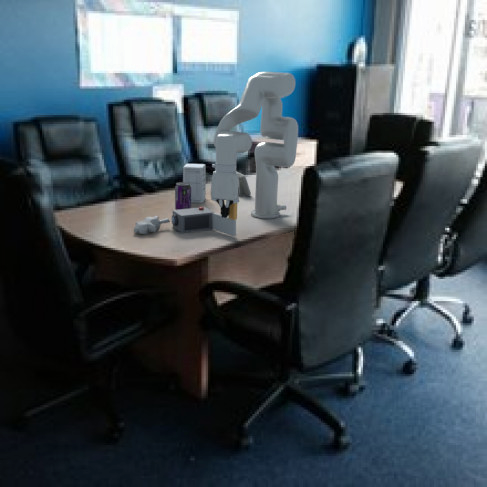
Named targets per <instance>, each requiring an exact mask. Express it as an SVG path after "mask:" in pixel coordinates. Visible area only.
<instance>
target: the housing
mask: <svg viewBox="0 0 487 487" xmlns="http://www.w3.org/2000/svg"><path fill="white" fill-rule="evenodd" d="M212 213H215V212H214V211H213V210H212V209H210V208H208V207H206V206H199V207H191V208H190V209H180V210H176V209H172V215H171V224H172V228H173V229H175V231H177V232H179V233H180V234H186V233H187V234H188V233H195V232H203V231H212V230H213V229H212ZM213 231H214V230H213Z"/></svg>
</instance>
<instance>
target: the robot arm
mask: <svg viewBox="0 0 487 487" xmlns="http://www.w3.org/2000/svg"><path fill="white" fill-rule="evenodd" d="M295 88H296V78H295V76H294V75H293V74H292V73H290V72H278V71H277V72H276V71H260V72H259V71H258V72H257V73H255V74H254V75H252V76H250V77H249V78H248V79H247V82H246V85H245V87H244V89H243V92H242V94H241V97H240V100H239V102H238V104H237V106H235V108H233V109H231V110H230V111H229V112H227V114H225V115H224V116H223V117H222V119H220V121H219V123H218V125H217V128H216V130H215V133H214V138H213V144H214V147H215V163H212V164H211V168H212V169H214V171H213V172H212V177H211V185H210V200H211V201H213V202H216V203H217V205H219V207H220V215H222V218H223V217H224V218H226V217H228V215H229V208H230V205H232V204H233V203H237V204H239V202H240V196H239V193H240V189H239V177H238V171H237V156H238V155H237V154H239V153H241V154H244V153H247V152H248V151H250V150H251V148H252V146H253V138H252V136H251V135H250V134H249V133H246V132H243V131H236V130H235V131H233V130H232V129H233V128H234V127H236V126H238V125H240V124H242V123H243V124H244V123H246V122H248V121H251V120H253V119H257V117H258V116H259V114H260V111H261V117H260V128H259V132H260V135H261V137H263V138H264V139H268V140H276V141H277V140H278V141H283V143H281V142H280V143H278V142H270V141H262V142H259V143H258V144H257V145H256V146H255V149H254V159H255V167H256V168H255V171H256V173H255V176H256V177H255V196H254V198H255V200H254V209H253V210H252V211H251V213H250V215H251V216H252V217H254V218H259V219H268V220H269V219H277V218H279V217H280V216H281V212H280V211H286V210H287V205H286V204H285V205H281V204H278V187H279V174H278V171H277V168H276V167H282V168H290V167H292V166H294V164H295V162H296V157H297V148H298V138H299V137H298V136H299V123H298V122H297V120H296V119H295V118H294V117H291V116H283V101H282V100H281V99H284V98H286V97H288V96H290V95H291V94H292V93H293V92H294V90H295ZM236 171H237V172H236Z"/></svg>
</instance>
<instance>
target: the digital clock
mask: <svg viewBox="0 0 487 487" xmlns="http://www.w3.org/2000/svg"><path fill="white" fill-rule="evenodd" d="M236 172H238V171H237V170H236ZM238 177H239V189H240V193H239V195H241V196H246V197H250V196H251V194H252V192H251V190H250V187H249V186H250V185H249V183H248V180H247V177H246V175H245V174H242V173H241V172H238Z"/></svg>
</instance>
